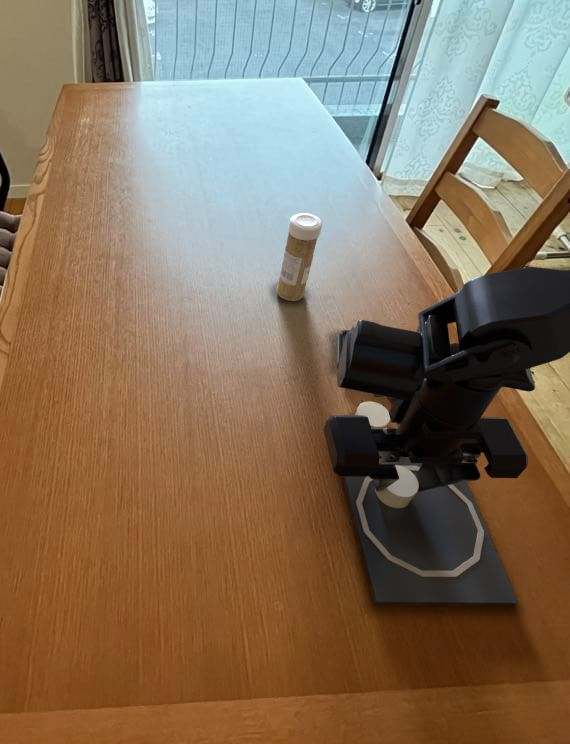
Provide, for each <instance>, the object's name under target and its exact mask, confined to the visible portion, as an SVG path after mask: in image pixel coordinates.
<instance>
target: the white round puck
mask: <svg viewBox="0 0 570 744" xmlns="http://www.w3.org/2000/svg"><path fill="white" fill-rule="evenodd" d="M395 466H396V469H397V472H398V475H399V479H398V480H397V481H396V482H394V483H393V484H391V485H390V486H389V487H387V488H386V489H384V490H382V491H380V492H377V491H376V489H375V492H376V494H377V496H378V498H379V499H380V500H381V501H382V502H383V503H384V504H386V505H388V506H390V507H393V508H403V507H406V506H407V505H408V504H409V503H410V502H411V500H412V499H413V497H414V496H415V494H416V493H417V491H418V489H419V483H418V480H417V478H416V476H415V475H414V474H413V473H412V472H411V471H410V470H408V469H407V468H405V467H402V466H398V465H395Z"/></svg>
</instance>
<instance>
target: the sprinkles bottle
mask: <svg viewBox="0 0 570 744" xmlns="http://www.w3.org/2000/svg"><path fill="white" fill-rule="evenodd" d="M322 227H323V222H322V220H321V219H320V217H318V216H316V215H313V214H311V213H307V212H306V213H305V212H301V213H296V214H294V215H292V216H291V217H290V220H289V223H288V227H287V230H288V232H287V233H288V235H287V237H286V238H287V239H286V243H285V248H284V251H283V256H282V261H281V266H280V271H279V277H278V278H279V279H278V284H277V286H276V288H275V289H276V290H275V291H276V294H277V296H278V297H280V298H281V299H283V300H285V301H288V302H296V301H300V300H301V299H303V298H304V296H305V293H306V287H307V283H308V280H309V275H310V271H311V267H312V263H313V260H314V253H315V250H316V245H317V241H318V239H319V237H320V235H321V231H322Z"/></svg>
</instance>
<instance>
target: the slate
mask: <svg viewBox="0 0 570 744" xmlns="http://www.w3.org/2000/svg"><path fill="white" fill-rule="evenodd" d="M422 464H423V463H411V462H410V459H399V462H398V463H397V464H396V465H398V466H402V467H405V468H407V469H408V470H410V471H411V472H412V473H413V474H414V475H415V476H416V474H417V472H418V470H419V469H420V467H421V465H422ZM341 478H342V482H343V487H344V490H345V494H346V499H347V502H348V506H349V510H350V515H351V518H352V522H353V527H354V530H355V534H356V537H357V544H358V547H359V551H360V555H361V559H362V562H363V566H364V571H365V574H366V575H365V576H366V579H367V583H368V586H369V591H370V595H371V599H372V602H373V606H403V607H405V606H407V607H408V606H409V607H411V606H413V607H502V608H503V607H508V608H509V607H515V606H517V605H518V604H519V602H518V600H517V599H518V598H517V597H516V594H515V592H514V590H513V587H512V585H511V583H510V580H509V578H508V575H507V573H506V571H505V569H504V566H503V564H502V561H501V558H500V557H499V554H498V552H497V549H496V548H495V545H494V542H493V541H492V538H491V535H490V533H489V531H488V529H487V527H486V524H485V521H484V519H483V517H482V514H481V512H480V510H479V508H478V505H477V502H476V501H475V498H474V496H473V493H472V491H471V489H470V487H469V484H468V481H466V482H461V483H456V484H451V485H446V486H442V487H437V488H433V489H429V490H425V491H421V492H417V493H416V494H415V496H414V497H413V499H412V500H411V502H410V503H409V504H408V505H407V506H406V507H403V508H393V507H390V506H388V505H386V504H384V503H383V502H382V501H381V500H380V499H379V498H378V496H377V494H376V492H375V485H374V480H373V479H371V478H370V477H369V476H366V477H346V476H341Z"/></svg>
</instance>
